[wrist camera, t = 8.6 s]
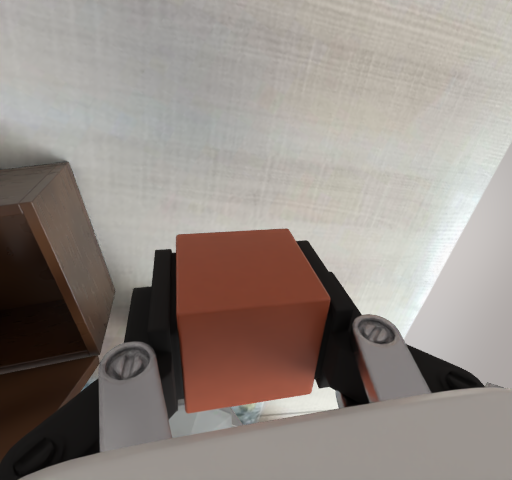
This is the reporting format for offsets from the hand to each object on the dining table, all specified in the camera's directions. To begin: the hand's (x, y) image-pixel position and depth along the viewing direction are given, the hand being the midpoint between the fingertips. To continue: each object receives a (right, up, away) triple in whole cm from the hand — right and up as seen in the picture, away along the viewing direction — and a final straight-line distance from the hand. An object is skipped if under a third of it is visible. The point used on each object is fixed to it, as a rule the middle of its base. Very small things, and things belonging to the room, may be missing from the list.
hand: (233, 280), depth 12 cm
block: (0, 0, 0) cm, 0 cm away
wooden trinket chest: (-21, +1, +19) cm, 29 cm away
